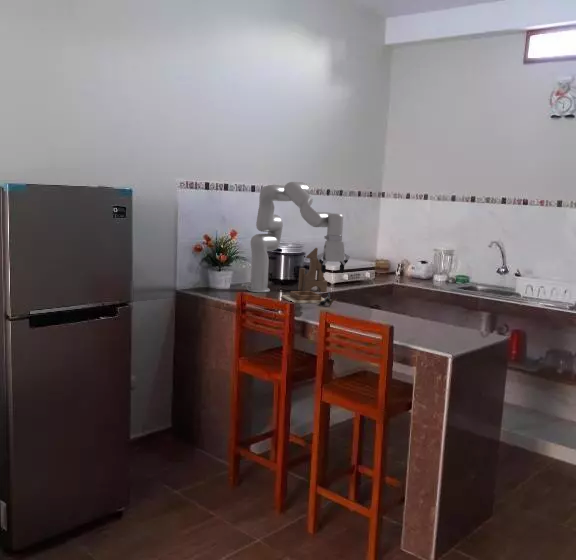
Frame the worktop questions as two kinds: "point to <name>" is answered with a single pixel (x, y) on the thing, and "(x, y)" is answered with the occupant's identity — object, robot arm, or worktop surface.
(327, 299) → the eagle figurine
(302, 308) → the worktop surface
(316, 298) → the jig
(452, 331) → the worktop surface
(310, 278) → the wooden toy
